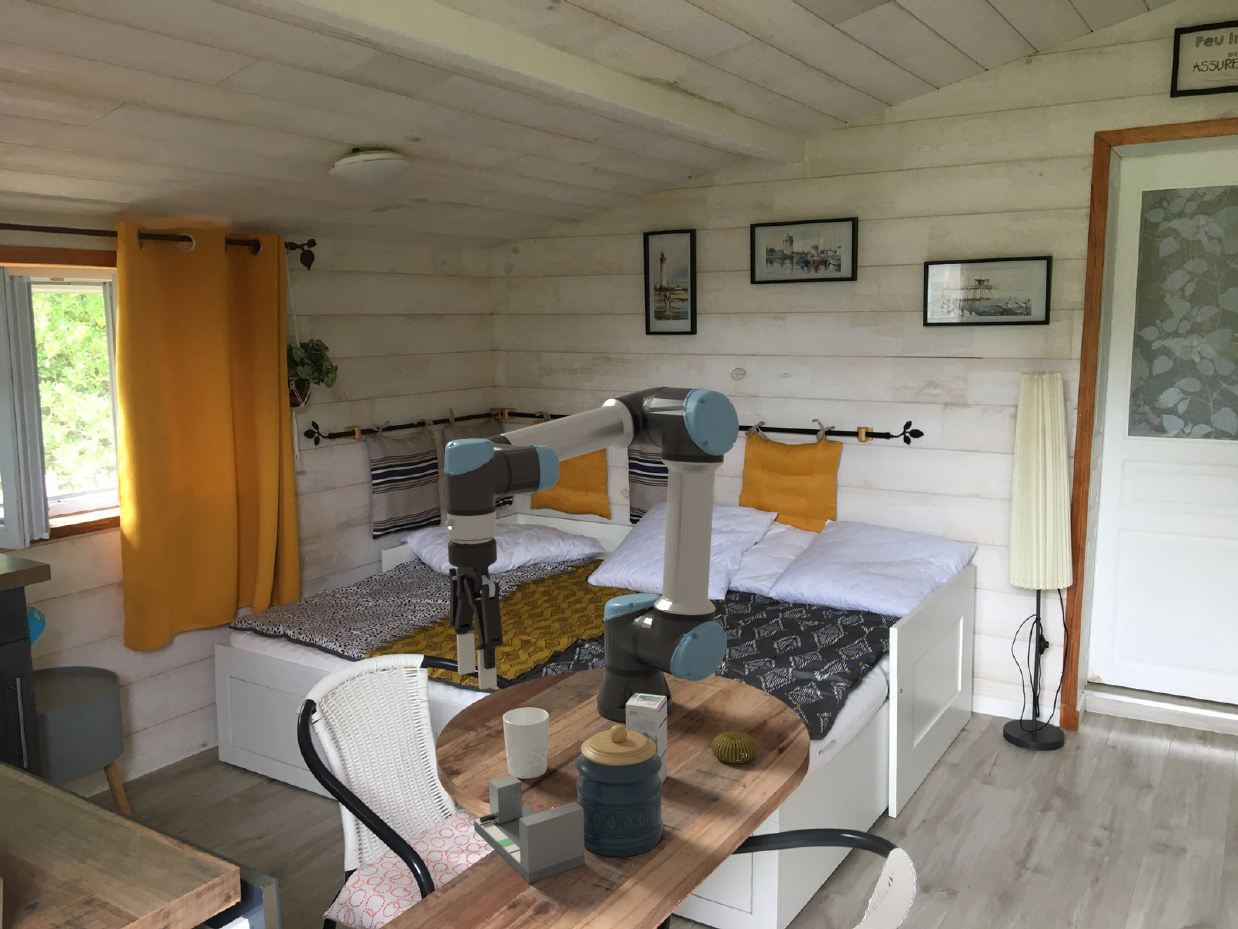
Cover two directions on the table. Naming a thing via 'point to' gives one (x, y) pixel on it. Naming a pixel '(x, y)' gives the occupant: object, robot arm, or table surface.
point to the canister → (620, 792)
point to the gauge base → (539, 840)
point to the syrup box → (650, 722)
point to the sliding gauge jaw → (504, 800)
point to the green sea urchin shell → (734, 747)
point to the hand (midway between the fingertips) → (477, 679)
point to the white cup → (526, 741)
